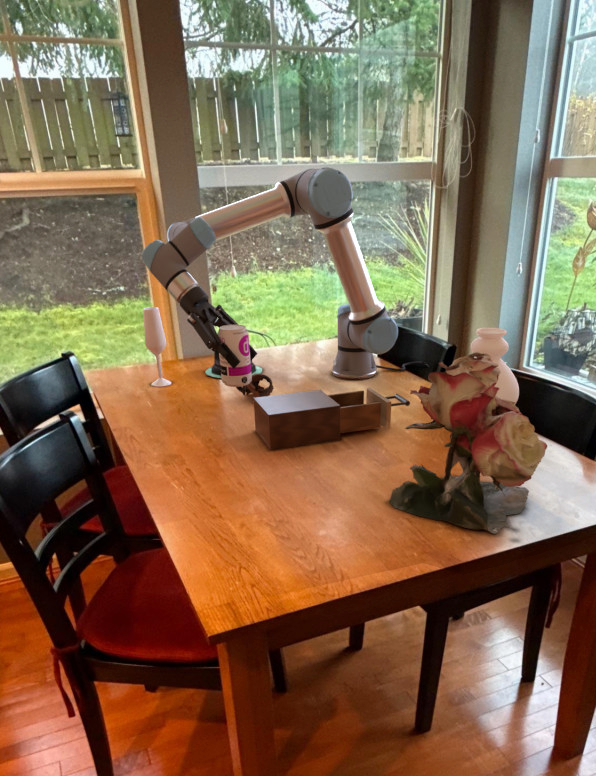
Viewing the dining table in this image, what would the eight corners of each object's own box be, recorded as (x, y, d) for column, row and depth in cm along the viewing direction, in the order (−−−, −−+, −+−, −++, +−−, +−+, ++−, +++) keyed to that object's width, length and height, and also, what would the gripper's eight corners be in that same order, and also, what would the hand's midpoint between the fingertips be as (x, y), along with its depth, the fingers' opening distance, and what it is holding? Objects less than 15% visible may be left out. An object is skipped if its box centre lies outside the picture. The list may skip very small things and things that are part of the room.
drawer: (392, 410, 180) (393, 384, 176) (414, 425, 169) (416, 398, 165) (311, 421, 173) (310, 394, 169) (328, 437, 162) (328, 409, 158)
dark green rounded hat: (270, 362, 228) (258, 379, 211) (228, 385, 235) (214, 403, 218) (247, 324, 222) (234, 339, 205) (205, 349, 229) (189, 365, 212)
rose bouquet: (519, 544, 116) (546, 384, 101) (378, 507, 130) (384, 361, 115) (555, 491, 135) (582, 350, 120) (428, 464, 148) (439, 334, 133)
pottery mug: (272, 393, 200) (276, 374, 193) (268, 414, 195) (272, 395, 188) (234, 384, 198) (238, 365, 191) (230, 405, 193) (233, 386, 186)
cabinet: (321, 422, 175) (320, 389, 170) (340, 440, 163) (340, 405, 158) (255, 431, 169) (253, 397, 164) (270, 450, 157) (268, 414, 153)
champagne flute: (176, 382, 210) (166, 307, 198) (161, 387, 205) (150, 311, 194) (161, 379, 214) (151, 305, 202) (146, 384, 209) (135, 309, 197)
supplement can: (257, 380, 175) (253, 325, 167) (242, 388, 168) (237, 331, 161) (232, 377, 178) (227, 323, 170) (216, 385, 171) (210, 329, 164)
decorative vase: (439, 430, 168) (447, 334, 155) (456, 410, 181) (465, 321, 169) (506, 440, 161) (521, 341, 148) (519, 419, 175) (533, 326, 162)
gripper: (204, 298, 177) (257, 360, 179) (157, 311, 161) (216, 380, 163) (218, 279, 173) (272, 343, 175) (171, 291, 156) (232, 361, 158)
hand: (245, 361), depth 169 cm, fingers closed on supplement can, 8 cm apart
